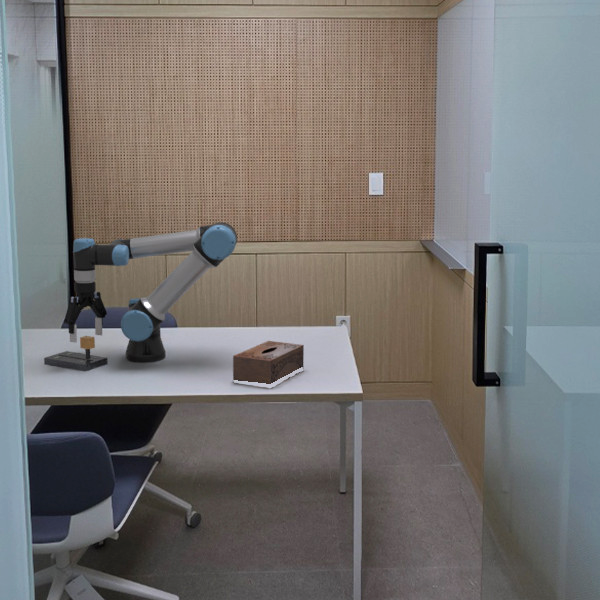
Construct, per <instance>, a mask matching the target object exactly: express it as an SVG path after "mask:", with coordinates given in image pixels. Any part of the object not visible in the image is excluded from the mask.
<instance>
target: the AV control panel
mask: <svg viewBox="0 0 600 600" xmlns="http://www.w3.org/2000/svg"><path fill="white" fill-rule="evenodd" d="M43 363H44V365H46V366H52V367H57V368H62V369H63V368H64V369H67V370H68V369H69V370H75V371H82V372H88V371H91V370H93V369H97V368H100V367H104V366H106V365H108V357H106V356H100V355H93V354H90V359H86V353H81V352H75V351H69V350H66V351H63V352H58V353H56V354H52V355H49V356H46V357H43Z"/></svg>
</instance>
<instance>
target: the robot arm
mask: <svg viewBox="0 0 600 600" xmlns="http://www.w3.org/2000/svg"><path fill="white" fill-rule="evenodd" d="M237 243H238V234H237V232H236V230H235V228H234V227H233V226H232V225H230V224H229V223H227V222H223V221H222V222H216V223H212V224H207V225H203V226H199V227H198V228H197V229H194V230H193V229H192V230H187V231H179V232H173V233H164V234H156V235H148V236H140V237H134V238H129V239H128V238H127V239H123V238H121V239H115V240H113V241H112V242H111V243H109V244H96V243H95V239H94V238H90V237H89V238H88V237H87V238H86V237H82V238H80V237H79V238H76V239H74V240H73V251H72V253H73V279H74V281H75V282H73V283H74V284H73V285H74V286H73V287H74V292H75V294H76V295H75V296H69V301H68V302H69V303H68V306H67V309H66V313H65V317H64V320H63V324H66V325H68V334H69V342H70V343H74V344H76V343H77V342H78V332H77V331H78V329H77V325H78V324H76V322H77V320H78V318H79V316H80V314H81V312H82V310H84V308H87V307H89V308H90V309H91V310H92V312H93V313H94V315H95V316H96V317H95V318H94V327H95V328H94V329H95V331H94V333H95V334H94V335H96V336H103V325H104V319H103V318H106V315H107V313H108V312H107V310H106V307H105V305H104V302H103V300H102V296H101V295H102V294H101V292H100V291H96V290H97V289H96V286H97V285H96V282H95V281H96V266H115V267H120V266H121V267H122V266H123V267H124V266H127V265H128V264H129V261H130V260H132V259H139V258H147V257H154V256H163V255H171V254H178V253H186V252H187V253H188V252H190V253H189V254H188V256H187V257H185V258H184V260H182V262H181V263H179V265H178V266H177V267H175V268H174V269H173V271H172V272H170V274H169V275H168V276H167V277H165V279H164V280H163V281H162V282H161V283H160V284H159V285H158V286H157V287H156V288H155V289H154V290H153V291H152V292H151V293H150V294H149V295H148V296H147V297H146V296H144V297H141V298H140V297H139V298H138V297H137V298H130V299H129V300H128V311H127V312H125V313H124V314H123V315H122V318H121V322H120V330H121V332H122V334H123V335H124V337H126V338H127V339H128V343H127V347H126V350H125V359H126V360H127V361H130V362H135V363H138V362H139V363H151V362H157V361H158V362H159V361H161V360H164V359H166V349H165V347H164V343H163V340H162V337H161V336H162V334H161V324H162V323H163V322H164V321H165V320H166V313H167V312H168V311H169V310H170V309H171V308H172V307H173V306H174V305H175V304H176V303H177V302H178V301H179V300H180V299H181V298H182V297H183V295H185V294H186V292H188V291H189V290H190V289H191V287H193V285H194V284H196V282H197V281H199V280H200V278H202V277H203V276H204V274H205V273H206V272H207V271H209V270H210V268H218V266H219V265H220V264H221V263H222V262H223V261H224V260H225V259H226V258H228V257H229V256H231V255H232V253H234V251H235V248H236V246H237Z"/></svg>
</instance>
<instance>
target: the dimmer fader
mask: <svg viewBox="0 0 600 600" xmlns="http://www.w3.org/2000/svg"><path fill="white" fill-rule="evenodd" d="M79 339H80V340H79V341H80V346H79V347H80V349H83V350H84V351H85V353H84V354H86V359H90V355H91V349H95V348H96V346H95V345H96V344H95V340H96V339H95V336H90V335H84V336H80V337H79Z"/></svg>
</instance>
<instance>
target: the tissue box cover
mask: <svg viewBox="0 0 600 600" xmlns="http://www.w3.org/2000/svg"><path fill="white" fill-rule="evenodd" d="M304 350H305V349H304V344H297V343H290V342H282V341H274V340H273V341H272V340H267V341H264V342H262V343H260V344H257V345H255V346H253V347H251V348H249V349H246V350H244V351H242V352H239V353H237V354H235V355H233V356H232V373H233V374H232V376H233V377H232V381H233V380H238V381H248V382H258V383H266V384H271V383H273V382H275V381H277V380H278V379H280V378H282V377H284V376H286V375H288V374H290V373H292V372H293V371H295V370H297V369H299V368H301V367H303V368H304V354H305V353H304Z"/></svg>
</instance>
